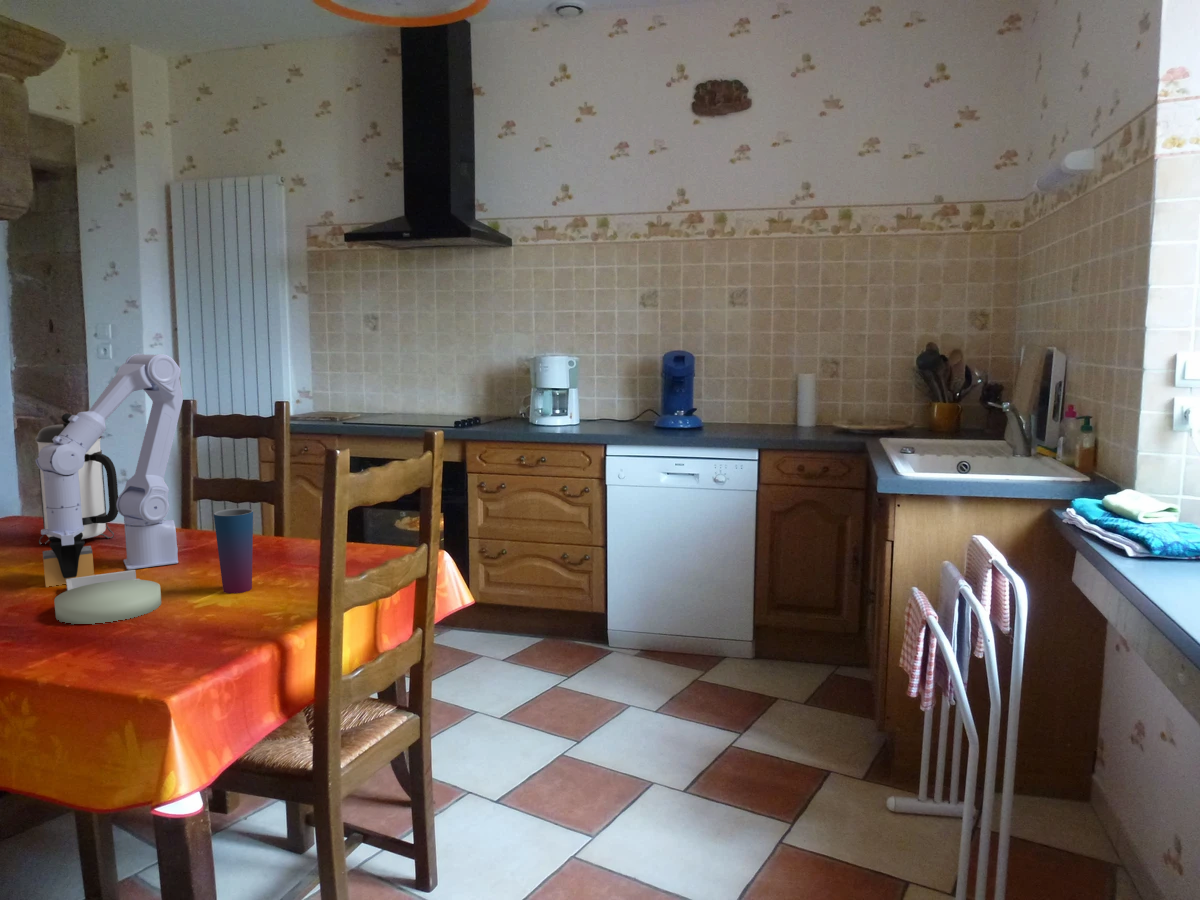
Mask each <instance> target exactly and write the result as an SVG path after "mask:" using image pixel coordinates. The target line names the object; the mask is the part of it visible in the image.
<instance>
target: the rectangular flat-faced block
mask: <svg viewBox="0 0 1200 900" xmlns="http://www.w3.org/2000/svg"><path fill="white" fill-rule="evenodd" d="M42 559H43V560H42V561H43V570H44V572H43V573H44V581H45V588H50V587H49V586H52V587H57V586H56V585H59V586H63V585H62V584H66V579H70V578H77V577H85V576H92V575H95V571H94V569H95V568H94V556H93V549H92V545H84V546H83V548H82V550H81V553H80V557H79V563H78V571H77V576H76V577H70V578H64V577H63V575H62V572H61V569H60V565H59V562H58V559H57V557H56V555H55V553H54V552H53V550H52V549H49V550H42Z"/></svg>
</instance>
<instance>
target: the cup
mask: <svg viewBox="0 0 1200 900" xmlns="http://www.w3.org/2000/svg"><path fill="white" fill-rule="evenodd" d="M213 521H214V526H215V527H214V528H215V536H216V537H215V538H216V542H217V544H216V545H217V551H218V560H219V568H220V575H221V577H220V578H221V584H222V591H223V593H226V594H231V593H234V594H243V593H246V591H247V592H249V591H251V590H252V589H253V550H254V549H253V546H254V545H253V537H254V536H253V533H254V510H253V509H251V508H250V509H249V508H243V507H242V508H237V507H236V508H228V509H221V510H218V511H215V512H214V513H213Z"/></svg>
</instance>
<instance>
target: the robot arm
mask: <svg viewBox="0 0 1200 900" xmlns="http://www.w3.org/2000/svg"><path fill="white" fill-rule="evenodd" d="M181 373H182V369H181V368H180V366H179V365H178V364H177V362H176V361H175V360H174V359H173V358H172V356H169V355H167V354H163V353H159V354H158V353H157V354H147V353H146V354H144V353H135V354H131V355H130V356H129V357H128V358H127V359H126V360H125V362H124V363H122V364H121V365H120V366H119V367H118V370H117V371H116V375H115V376H114V377H113V378H112V379H111V381H110V382H109V383H108V385H107V386H106V388H105V389H104V390H103V392H102V393H101V394H100V395H99V396H98V398H97V399H96V401H95V402H94V403H93V405H92V406H91V407H90V408H89V409H88V410H87V411H80V412H77V414H76V415H75V414H71V415H72V416H71V417H70V418H69V419H68V420H69V421H70V423H69V424H68V425H67V426H66V427H65V429H64V430H63V431H62V432H61V433H60V434H59V436H55V437H54V438H53V439H52V440H53V442H54V444H49V445H46V446H45V447H43V448H42V449H41V451H40V452H39V451H38V453H39V454H38V453H37V456H38V455H39V458H38V457H37V458H35V464H36V466H37V468H38V469H39V468H40V469H41V470H42V471H43V474H44V488H45V500H46V511H47V523H48V529H44V528H42V529H41V530H40V534H41V535H42V536H43V535H44V536H45V535H46V534H48V535H51V536H52V537H48V540H50V541H49V542H50V543H49V548H50V550H53V552H54V553H55V555H56V557H57V559H58V562H59V565H60V569H61V572H62V575H63V577H64V578H70V577H76V576H77V571H78V563H79V557H80V553H81V550H82V548H83V546H85V540H83V539H82V537H83V534H82V533H81V532H83V531H84V526H83V522H82V509H81V497H80V484H79V473H78V470H79V469H81V468H82V467H83V465H84V461H85V459H84V456H85V454H86V453H87V452H88V451H89V449H90V448H91V447H92V446H93V445H94V443H95V442H96V441H97V440H98V439H99V437H100V436H101V437H102V435H103V434H104V433H105V432H106V430H107V426H106V421H107V420H108V418H109V417H110V416H111V415H112V414H113V413H114V412H115V411H116V410H117V409H118V408H119V407H120V405H122V404H123V403H124V401H126V400H127V399H128V397H129V396H130V395H132V393H134V392H138V391H141V390H143V391H144V392H145V393H146V395H147V396H148V397H149V398H150V399H151V401H152V405H151V409H150V413H149V416H148V420H147V424H146V428H145V432H144V436H143V440H142V444H141V447H140V448H141V449H140V453H139V457H138V461H137V465H136V467H135V468H136V469H135V473H134V475H132V476H131V477H130V478H129V479H128V480H126V482H125V487H124V489H123V491H122V492H121V493H120V494H118V499H117V504H116V505H117V510H118V514H120V515H121V516H122V517H123V523H124V535H125V536H124V537H125V550H126V558H125V559H123V563H124V565H125V568H126V570H127V571H130V570H137V569H143V568H151V567H152V568H153V567H159V566H160V567H161V566H166V565H174V564H178V563H179V558H178V553H179V552H178V551H179V550H178V549H179V548H178V545H177V544H178V542H177V532H176V531H177V530H176V524H175V520H174V519H165V518H166V517H167V515H168V513H169V511H170V502H169V492H170V488H169V486H168V485H167V483H166V482H165V481H166V480H165V475H166V471H167V466H168V464H169V458H170V455H171V451H172V447H173V441H174V438H175V435H176V434H175V433H176V430H177V426H178V421H179V418H180V413H181V409H182V405H183V402H184V401H183V400H184V395H183V389H182V384H181V381H180V378H181Z"/></svg>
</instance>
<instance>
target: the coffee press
mask: <svg viewBox="0 0 1200 900" xmlns="http://www.w3.org/2000/svg"><path fill="white" fill-rule="evenodd" d="M72 415H73V414H71V413H69V412H68V413H64V414H63V415H62V416H61V418H60V419H61V420H62V422H63V424H52V425H48V426H45V427H43V428H41V429H40V430H39V432H38V433H37V436H35V438H34V439H35V442H36V443H37V447H38V453H37V458H39V455H38V454H39V452H40V451H41V449H42V448H43V447H45V446H46V445H49V444H54V442H53V440H52V439H53V438H54V437H55V436H59V434H60V433H61V432H62V431H63V430H64V429H65V427H66V426H67V425H68V424H69V423H70V421H69V420H68V419H69V418H70V417H71V416H72ZM101 439H102V435H101V436H100V437H99V439H98V440H97V441H96V442H95V443H94V445H93V446H92V447H91V448H90V449H89V451H88V452H87V453H86V454H85V456H84V459H85V461H84V465H83V467H82V468H81V469H79V470H78V473H79V484H80V497H81V509H82V522H83V526H84V531H83V532H81V533H82V534H83V537H82V539H81V540H85V539H91V538H95V537H98V536H103V537H105V538H106V539H108V540H110V539H109V538H112V539H113V538H114V536H115V533H114V532H113V531H112V530H111V528H110V527H109V525H108V523H111V522H114V520H115V519H116V518H117V516H118V515H119V512H118V510H117V505H116V504H117V499H118V497H119V488H118V478H117V472H116V466H115V465H114V463H113V460H112V459H111V458H110V457H109V456H107V455H105V454H103V452H102V451H103V450H102V449H101ZM104 468H105V472H106V479H107V480H106V482H107V493H108V494H107V495H108V507H109V508H108V512H107V503H106V490H105V478H104ZM38 474H39V486H40V487H39V488H40V497H41V511H42V522H43V529H48V523H47V511H46V500H45V488H44V474H43V471H42V470H41V469H40V468H39V467H38ZM106 529H107V530H108V531H109V532H110V533H111V534H112V536H108V535H107V534H104V532H106ZM45 535H46V536H47V537H48V538H49V537H52V536H51V535H48V534H45ZM45 535H42V536H40V538H39V540H38V543H39V545H41V544H42V543H43V542H41V539H42V538H43V537H44V536H45ZM49 542H50V540H49V539H48V540H46V541H45V542H44V543H45V545H47V544H48V543H49ZM41 546H42V545H41Z"/></svg>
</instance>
